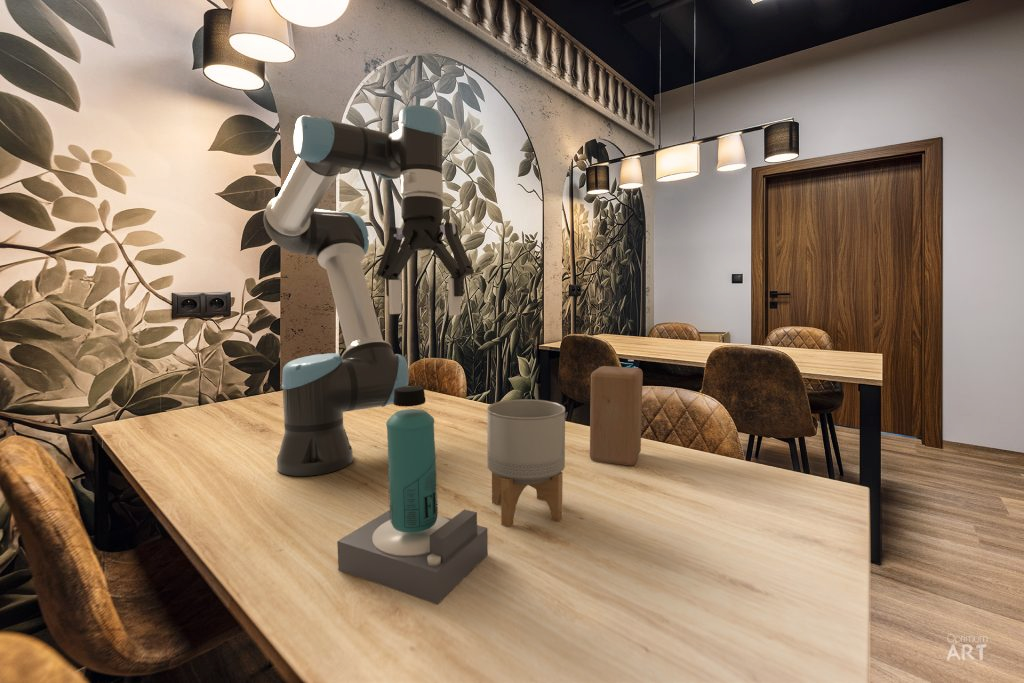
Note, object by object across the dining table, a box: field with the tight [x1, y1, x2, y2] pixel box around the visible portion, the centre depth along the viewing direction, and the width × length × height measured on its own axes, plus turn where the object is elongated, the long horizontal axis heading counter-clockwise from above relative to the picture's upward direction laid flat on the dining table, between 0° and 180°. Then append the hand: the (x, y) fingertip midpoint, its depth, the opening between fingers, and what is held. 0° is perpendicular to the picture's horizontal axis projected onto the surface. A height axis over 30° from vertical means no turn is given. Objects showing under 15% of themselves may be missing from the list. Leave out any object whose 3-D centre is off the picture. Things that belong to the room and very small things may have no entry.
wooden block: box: [589, 365, 644, 466], centre depth 106 cm, size 10×10×20 cm
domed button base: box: [336, 509, 489, 605], centre depth 65 cm, size 16×12×7 cm
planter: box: [486, 398, 566, 528], centre depth 80 cm, size 13×13×18 cm
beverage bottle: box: [386, 385, 440, 533], centre depth 63 cm, size 6×7×20 cm
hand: (424, 314), depth 89 cm, fingers open, 13 cm apart
